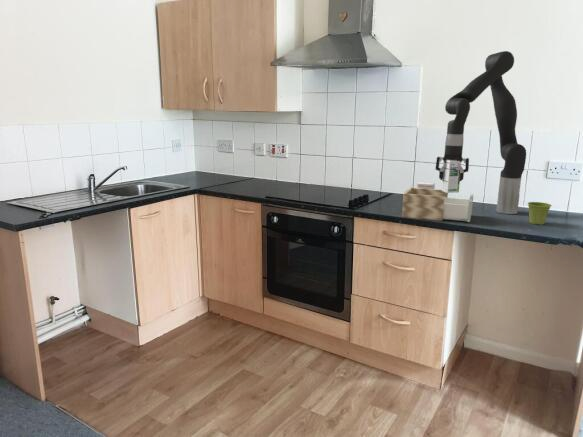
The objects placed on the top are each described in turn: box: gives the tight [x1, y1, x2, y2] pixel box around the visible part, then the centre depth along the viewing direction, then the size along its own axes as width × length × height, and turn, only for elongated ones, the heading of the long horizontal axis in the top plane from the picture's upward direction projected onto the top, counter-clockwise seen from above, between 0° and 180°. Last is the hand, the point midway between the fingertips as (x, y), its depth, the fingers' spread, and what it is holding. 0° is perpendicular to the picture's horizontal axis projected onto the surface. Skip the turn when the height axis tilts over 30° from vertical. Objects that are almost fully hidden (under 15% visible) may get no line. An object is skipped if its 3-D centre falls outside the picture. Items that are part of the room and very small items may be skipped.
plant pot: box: [527, 201, 552, 226], centre depth 210 cm, size 9×9×9 cm
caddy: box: [401, 187, 449, 222], centre depth 223 cm, size 18×18×11 cm
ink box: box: [416, 181, 436, 190], centre depth 245 cm, size 8×5×12 cm, turn 69°
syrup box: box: [441, 160, 462, 194], centre depth 216 cm, size 6×6×14 cm
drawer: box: [443, 193, 474, 223], centre depth 219 cm, size 18×18×9 cm
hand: (450, 180), depth 217 cm, fingers closed on syrup box, 8 cm apart
